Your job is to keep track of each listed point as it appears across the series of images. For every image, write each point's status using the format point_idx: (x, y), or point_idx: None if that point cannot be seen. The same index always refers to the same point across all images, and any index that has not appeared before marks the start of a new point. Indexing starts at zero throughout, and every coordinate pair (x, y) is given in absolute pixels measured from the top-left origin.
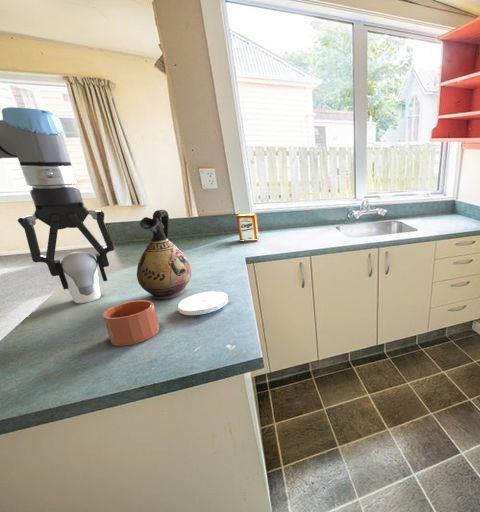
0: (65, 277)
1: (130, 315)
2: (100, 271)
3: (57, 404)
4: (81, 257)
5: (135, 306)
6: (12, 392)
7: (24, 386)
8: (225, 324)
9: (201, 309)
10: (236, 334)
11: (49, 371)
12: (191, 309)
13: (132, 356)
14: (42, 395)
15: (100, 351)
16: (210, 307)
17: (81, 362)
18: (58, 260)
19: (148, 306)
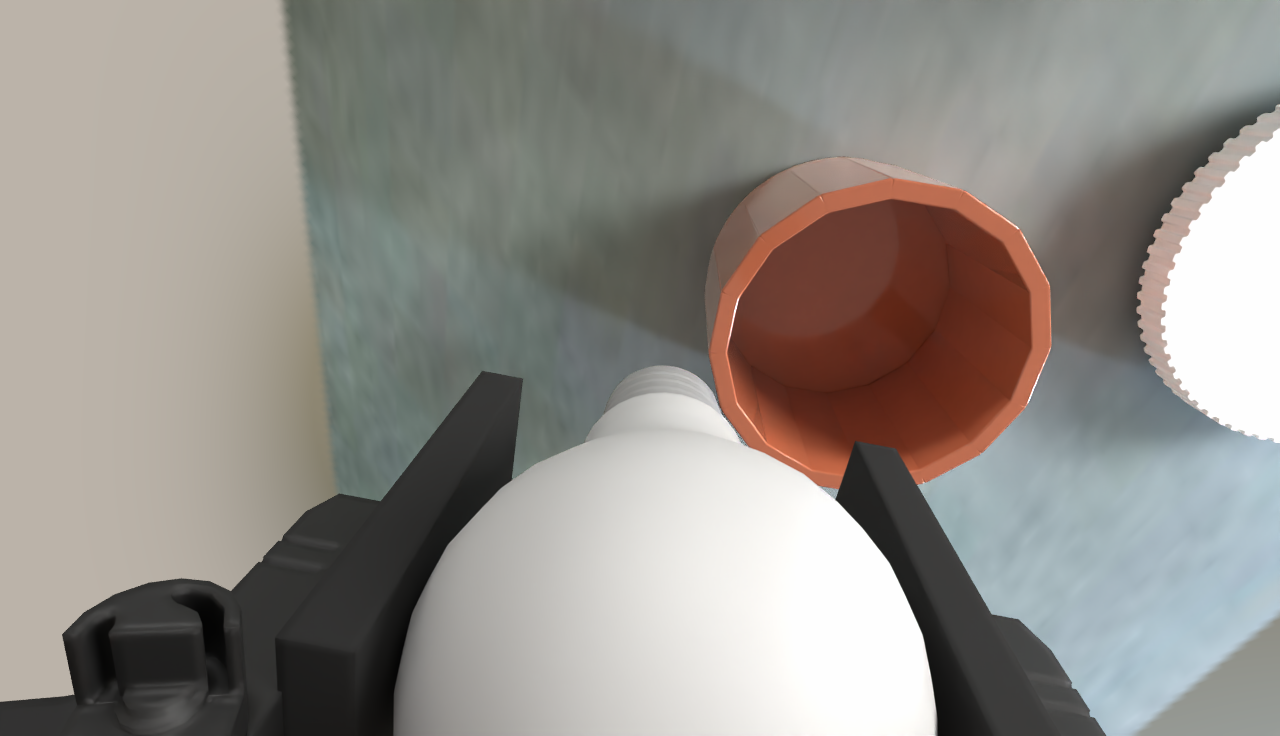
0: (486, 459)
1: (829, 476)
2: None
3: None
4: None
5: (957, 216)
6: (339, 382)
7: (372, 372)
8: (1154, 575)
9: (1221, 416)
10: (1094, 689)
11: (449, 324)
12: (1193, 358)
13: None
14: None
15: (644, 320)
16: (1273, 437)
17: (559, 358)
18: (339, 706)
19: (1009, 307)
